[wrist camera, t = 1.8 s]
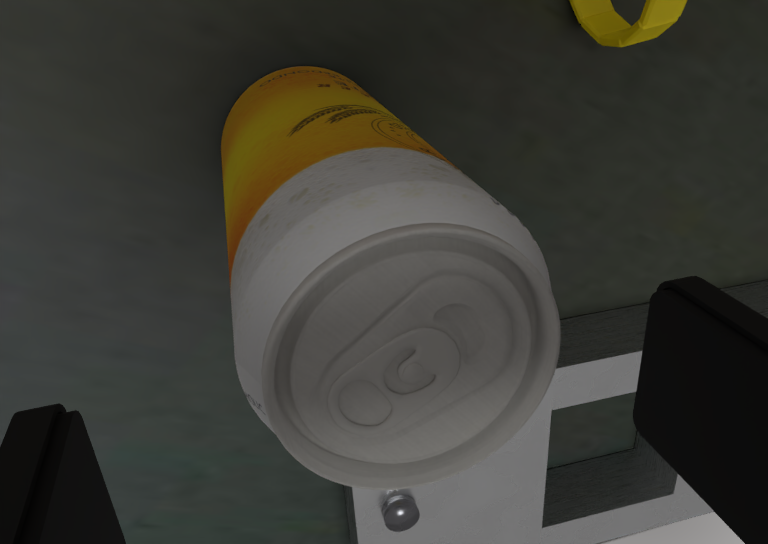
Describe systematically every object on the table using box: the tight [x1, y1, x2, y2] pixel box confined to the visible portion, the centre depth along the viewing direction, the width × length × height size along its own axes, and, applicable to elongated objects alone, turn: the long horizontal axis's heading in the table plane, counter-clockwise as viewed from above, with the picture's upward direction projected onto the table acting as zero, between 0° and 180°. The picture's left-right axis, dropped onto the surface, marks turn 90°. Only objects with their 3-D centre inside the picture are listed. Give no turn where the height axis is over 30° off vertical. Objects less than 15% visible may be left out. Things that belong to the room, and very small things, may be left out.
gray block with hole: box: [344, 280, 768, 544], centre depth 32 cm, size 26×12×4 cm, turn 93°
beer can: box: [221, 66, 561, 490], centre depth 17 cm, size 6×6×15 cm
